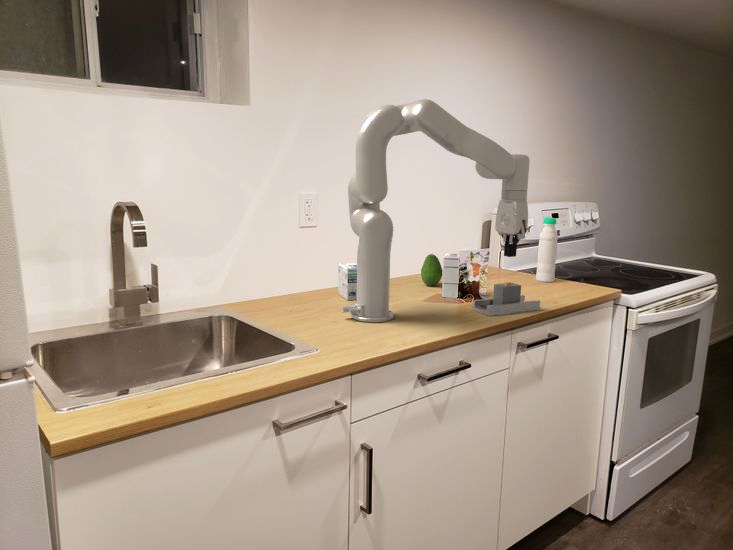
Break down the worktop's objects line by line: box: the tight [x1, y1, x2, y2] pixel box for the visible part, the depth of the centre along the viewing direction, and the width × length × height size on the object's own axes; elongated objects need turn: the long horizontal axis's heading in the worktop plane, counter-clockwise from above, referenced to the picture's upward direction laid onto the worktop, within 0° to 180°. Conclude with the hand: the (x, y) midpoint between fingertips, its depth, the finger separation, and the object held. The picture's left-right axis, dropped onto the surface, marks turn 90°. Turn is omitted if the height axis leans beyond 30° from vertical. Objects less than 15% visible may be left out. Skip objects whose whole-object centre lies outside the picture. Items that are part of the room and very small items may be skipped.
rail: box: [471, 294, 542, 317], centre depth 175 cm, size 20×9×3 cm, turn 116°
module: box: [492, 281, 522, 305], centre depth 175 cm, size 7×4×8 cm, turn 116°
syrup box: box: [441, 253, 461, 299], centre depth 191 cm, size 6×6×14 cm
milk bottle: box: [535, 217, 559, 283], centre depth 219 cm, size 7×7×25 cm
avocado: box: [420, 253, 443, 287], centre depth 208 cm, size 8×8×12 cm
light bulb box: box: [337, 262, 357, 301], centre depth 188 cm, size 11×7×11 cm, turn 20°
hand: (509, 256), depth 172 cm, fingers closed
